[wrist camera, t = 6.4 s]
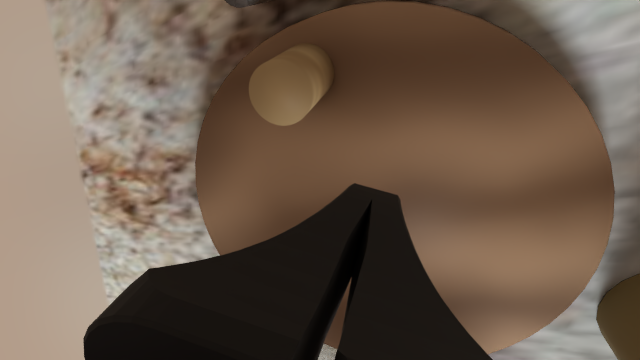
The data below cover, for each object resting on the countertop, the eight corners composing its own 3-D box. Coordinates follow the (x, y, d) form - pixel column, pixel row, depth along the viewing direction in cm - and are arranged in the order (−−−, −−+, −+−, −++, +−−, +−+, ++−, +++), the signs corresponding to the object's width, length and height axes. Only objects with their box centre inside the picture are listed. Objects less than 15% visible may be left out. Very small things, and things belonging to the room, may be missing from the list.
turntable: (638, 321, 21) (687, 414, 16) (302, 357, 29) (277, 425, 25) (541, -103, 14) (581, -130, 10) (145, 101, 22) (75, 133, 18)
